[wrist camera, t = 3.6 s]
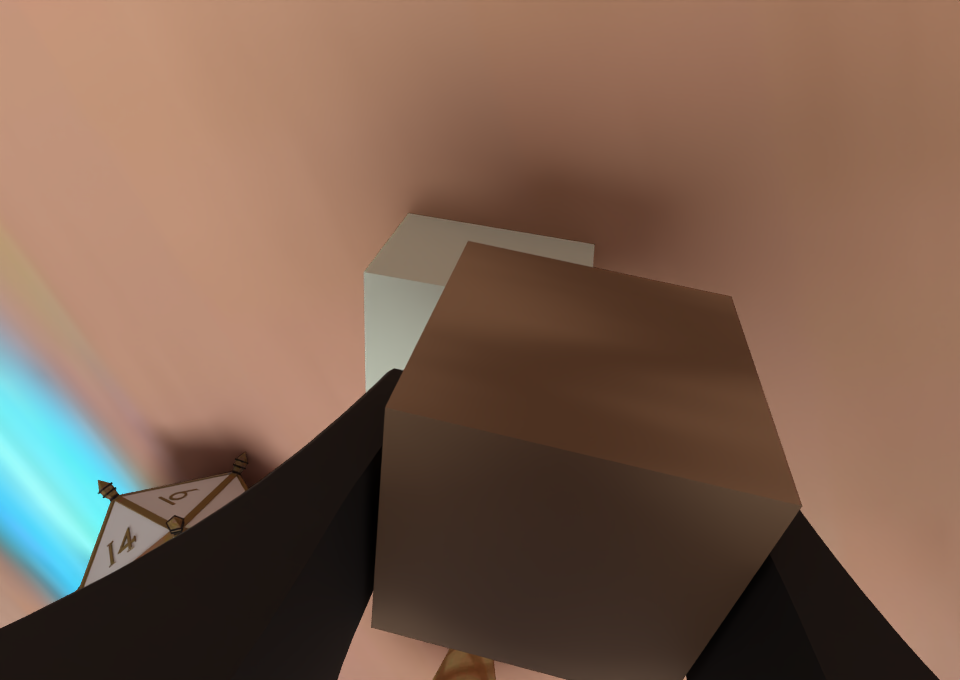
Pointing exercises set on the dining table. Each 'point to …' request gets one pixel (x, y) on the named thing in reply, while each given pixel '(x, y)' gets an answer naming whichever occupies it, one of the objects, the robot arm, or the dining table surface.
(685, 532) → the walnut cube
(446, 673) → the ice cream cone
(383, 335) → the base block
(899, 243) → the dining table surface
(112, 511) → the game die
